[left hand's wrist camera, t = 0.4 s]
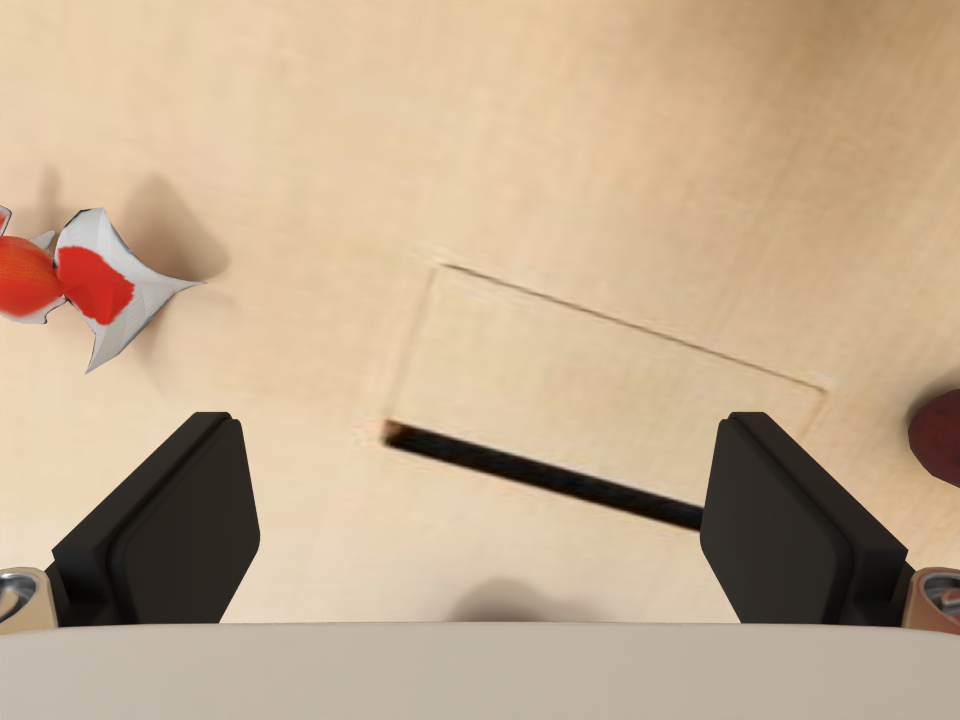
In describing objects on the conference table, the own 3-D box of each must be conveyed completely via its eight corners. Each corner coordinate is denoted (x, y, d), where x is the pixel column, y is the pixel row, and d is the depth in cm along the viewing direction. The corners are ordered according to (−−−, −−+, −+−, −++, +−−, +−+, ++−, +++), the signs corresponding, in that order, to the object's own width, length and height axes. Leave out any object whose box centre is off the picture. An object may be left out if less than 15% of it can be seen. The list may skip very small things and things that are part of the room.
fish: (-68, 113, 33) (-145, 216, 26) (223, 197, 41) (216, 291, 35) (-55, 253, 39) (-114, 362, 33) (194, 301, 47) (185, 396, 41)
